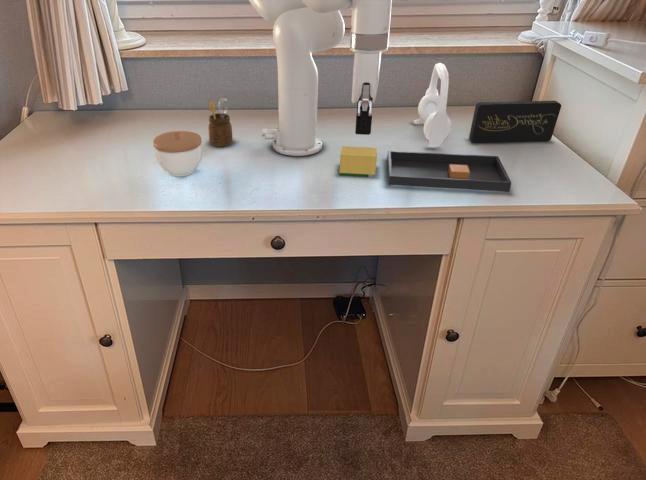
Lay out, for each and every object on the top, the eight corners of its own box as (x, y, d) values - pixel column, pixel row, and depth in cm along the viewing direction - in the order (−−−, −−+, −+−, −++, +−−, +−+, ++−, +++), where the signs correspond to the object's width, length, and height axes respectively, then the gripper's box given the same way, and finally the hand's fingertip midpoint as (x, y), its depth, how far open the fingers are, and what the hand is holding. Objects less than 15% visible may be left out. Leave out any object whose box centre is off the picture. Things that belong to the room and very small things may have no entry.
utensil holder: (237, 141, 134) (234, 94, 127) (224, 149, 130) (220, 101, 123) (218, 137, 136) (214, 91, 129) (204, 145, 132) (200, 98, 125)
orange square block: (450, 178, 114) (451, 171, 113) (447, 170, 117) (449, 164, 116) (468, 179, 113) (470, 172, 112) (466, 171, 117) (467, 165, 116)
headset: (448, 151, 128) (463, 77, 117) (419, 150, 128) (431, 76, 118) (438, 123, 144) (450, 56, 133) (413, 122, 145) (422, 55, 134)
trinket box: (154, 165, 122) (148, 127, 116) (198, 159, 125) (194, 121, 119) (162, 184, 114) (155, 143, 108) (209, 176, 117) (205, 136, 111)
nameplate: (546, 138, 134) (558, 100, 128) (550, 141, 133) (562, 102, 127) (468, 140, 133) (476, 102, 127) (470, 143, 132) (479, 104, 126)
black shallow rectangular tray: (388, 187, 112) (389, 176, 110) (386, 160, 123) (388, 150, 122) (508, 194, 109) (511, 182, 107) (495, 166, 120) (498, 156, 119)
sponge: (339, 175, 117) (340, 154, 114) (340, 166, 121) (341, 146, 118) (374, 177, 116) (376, 156, 113) (374, 168, 120) (376, 147, 117)
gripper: (351, 33, 109) (347, 113, 119) (348, 50, 95) (344, 139, 105) (387, 33, 109) (380, 114, 118) (389, 51, 94) (381, 141, 104)
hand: (363, 126), depth 112 cm, fingers open, 9 cm apart
